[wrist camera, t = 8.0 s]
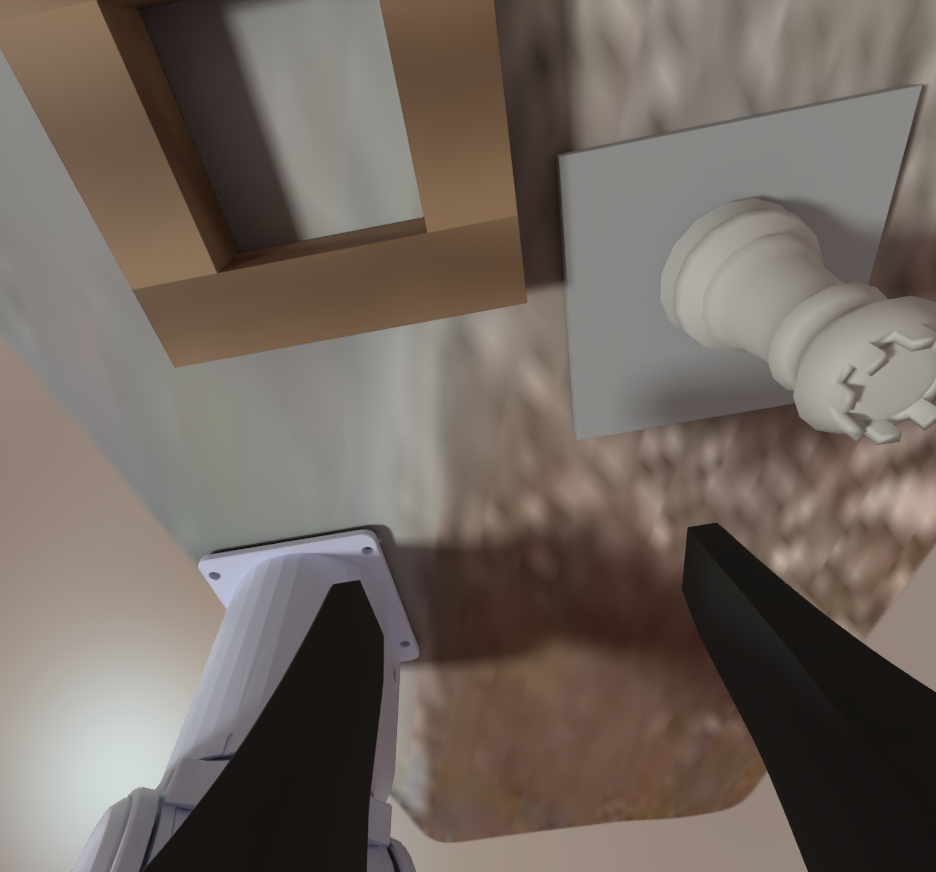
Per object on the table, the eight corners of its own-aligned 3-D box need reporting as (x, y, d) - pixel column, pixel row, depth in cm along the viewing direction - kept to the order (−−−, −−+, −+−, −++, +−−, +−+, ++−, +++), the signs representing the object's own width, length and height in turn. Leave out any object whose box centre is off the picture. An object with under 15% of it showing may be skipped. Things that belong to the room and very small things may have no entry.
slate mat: (830, 389, 21) (838, 396, 20) (574, 433, 21) (577, 440, 21) (908, 84, 15) (921, 85, 14) (555, 154, 15) (559, 156, 15)
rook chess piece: (756, 160, 15) (1000, 226, 9) (817, 270, 17) (1053, 393, 11) (627, 268, 17) (752, 393, 10) (696, 358, 19) (838, 511, 12)
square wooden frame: (518, 281, 17) (527, 302, 16) (198, 340, 18) (174, 367, 16) (459, -224, 11) (463, -274, 10) (-28, -109, 12) (-102, -139, 10)
